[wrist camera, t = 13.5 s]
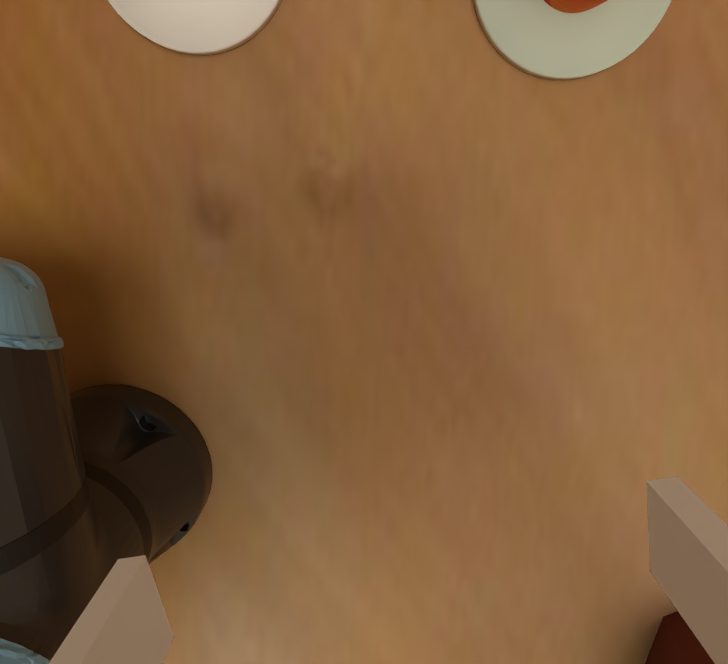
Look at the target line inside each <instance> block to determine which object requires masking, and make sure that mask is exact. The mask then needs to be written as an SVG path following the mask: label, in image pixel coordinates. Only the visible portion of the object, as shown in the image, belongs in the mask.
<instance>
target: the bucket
mask: <svg viewBox="0 0 728 664" xmlns="http://www.w3.org/2000/svg"><path fill="white" fill-rule="evenodd" d="M645 664H715V663H714V662H713V660H712V659H711V658H710V656H709V655H708V653H707V652H706V650H705V649H704V648H703V646H702V645H701V643H700V642H699V640H698V639H697V638H696V636H695V635H694V633H693V632H692V630H691V629H690V628H689V626H688V625H687V623H686V622H685V620H684V619H683V618H682V616H681V615H680V613H679V612H678V611H677V612H674V613H672V614H669V615H667V616H664V617H663V619H662V622H661V624H660V627H659V630H658V632H657V635H656V637H655V640H654V642H653V645H652V648H651V650H650V653H649V655H648V658H647V660H646V663H645Z"/></svg>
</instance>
